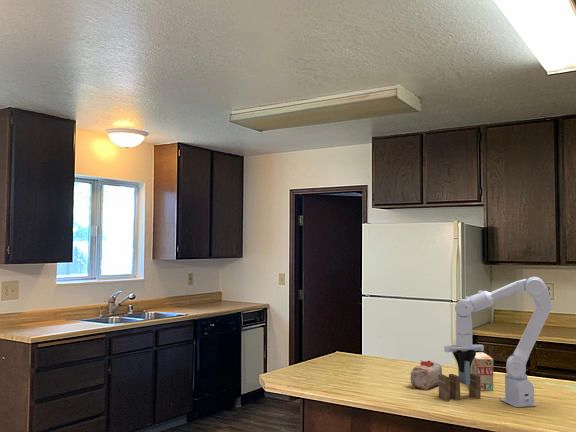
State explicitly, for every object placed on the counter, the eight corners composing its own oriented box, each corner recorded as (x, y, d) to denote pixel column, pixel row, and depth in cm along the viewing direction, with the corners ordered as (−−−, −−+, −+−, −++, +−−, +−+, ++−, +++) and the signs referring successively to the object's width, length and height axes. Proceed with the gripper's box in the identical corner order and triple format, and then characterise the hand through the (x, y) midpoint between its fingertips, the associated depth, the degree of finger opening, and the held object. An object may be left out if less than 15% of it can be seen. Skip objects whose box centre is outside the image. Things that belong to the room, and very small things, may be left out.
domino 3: (472, 395, 208) (472, 372, 208) (480, 398, 203) (480, 375, 203) (468, 395, 208) (468, 373, 208) (476, 398, 203) (476, 376, 203)
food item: (428, 391, 213) (428, 364, 213) (408, 388, 218) (408, 362, 218) (444, 385, 223) (444, 359, 223) (425, 381, 228) (425, 356, 229)
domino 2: (452, 396, 206) (452, 373, 206) (460, 400, 201) (460, 376, 202) (448, 396, 206) (448, 374, 206) (456, 400, 201) (455, 377, 201)
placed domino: (462, 381, 207) (462, 359, 208) (470, 384, 203) (469, 361, 203) (458, 381, 207) (458, 359, 208) (465, 384, 202) (465, 361, 203)
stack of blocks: (461, 378, 235) (461, 347, 236) (477, 378, 235) (476, 348, 235) (476, 391, 214) (476, 358, 214) (493, 391, 213) (493, 358, 214)
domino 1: (442, 396, 205) (442, 374, 206) (449, 400, 200) (449, 377, 201) (438, 397, 205) (438, 374, 205) (445, 400, 200) (445, 377, 200)
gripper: (475, 331, 211) (476, 368, 210) (440, 332, 208) (440, 370, 207) (486, 334, 204) (487, 372, 204) (450, 335, 201) (450, 374, 200)
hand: (464, 371), depth 205 cm, fingers closed on placed domino, 2 cm apart
